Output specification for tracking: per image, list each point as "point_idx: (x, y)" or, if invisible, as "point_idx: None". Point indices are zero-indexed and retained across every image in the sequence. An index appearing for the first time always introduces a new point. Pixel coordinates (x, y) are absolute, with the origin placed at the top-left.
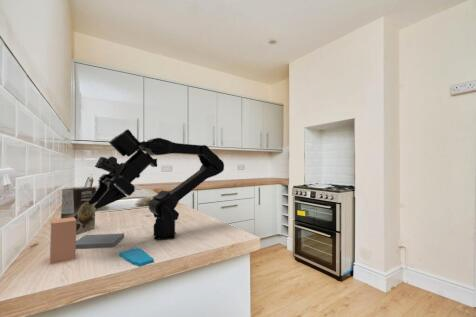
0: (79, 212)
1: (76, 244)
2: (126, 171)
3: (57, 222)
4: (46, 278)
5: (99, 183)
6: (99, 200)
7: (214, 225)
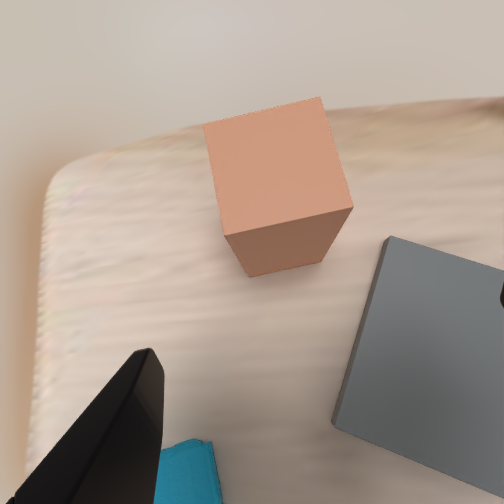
0: None
1: (386, 263)
2: None
3: (216, 144)
4: (118, 223)
5: None
6: (79, 418)
7: None
